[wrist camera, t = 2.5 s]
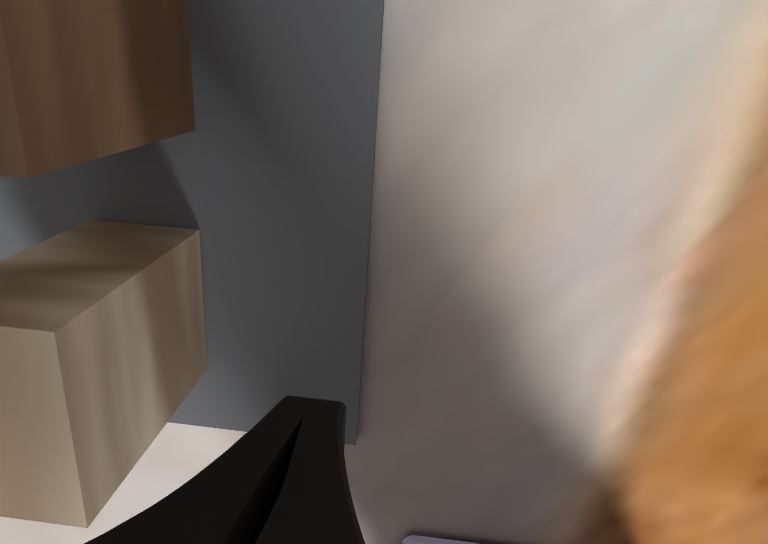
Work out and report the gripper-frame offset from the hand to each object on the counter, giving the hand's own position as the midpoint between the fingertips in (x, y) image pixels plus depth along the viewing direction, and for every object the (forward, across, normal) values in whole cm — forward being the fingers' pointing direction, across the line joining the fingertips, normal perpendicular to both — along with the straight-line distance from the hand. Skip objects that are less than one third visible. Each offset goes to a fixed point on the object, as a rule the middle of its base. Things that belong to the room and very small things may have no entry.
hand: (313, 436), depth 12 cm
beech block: (+6, +7, 0) cm, 9 cm away
